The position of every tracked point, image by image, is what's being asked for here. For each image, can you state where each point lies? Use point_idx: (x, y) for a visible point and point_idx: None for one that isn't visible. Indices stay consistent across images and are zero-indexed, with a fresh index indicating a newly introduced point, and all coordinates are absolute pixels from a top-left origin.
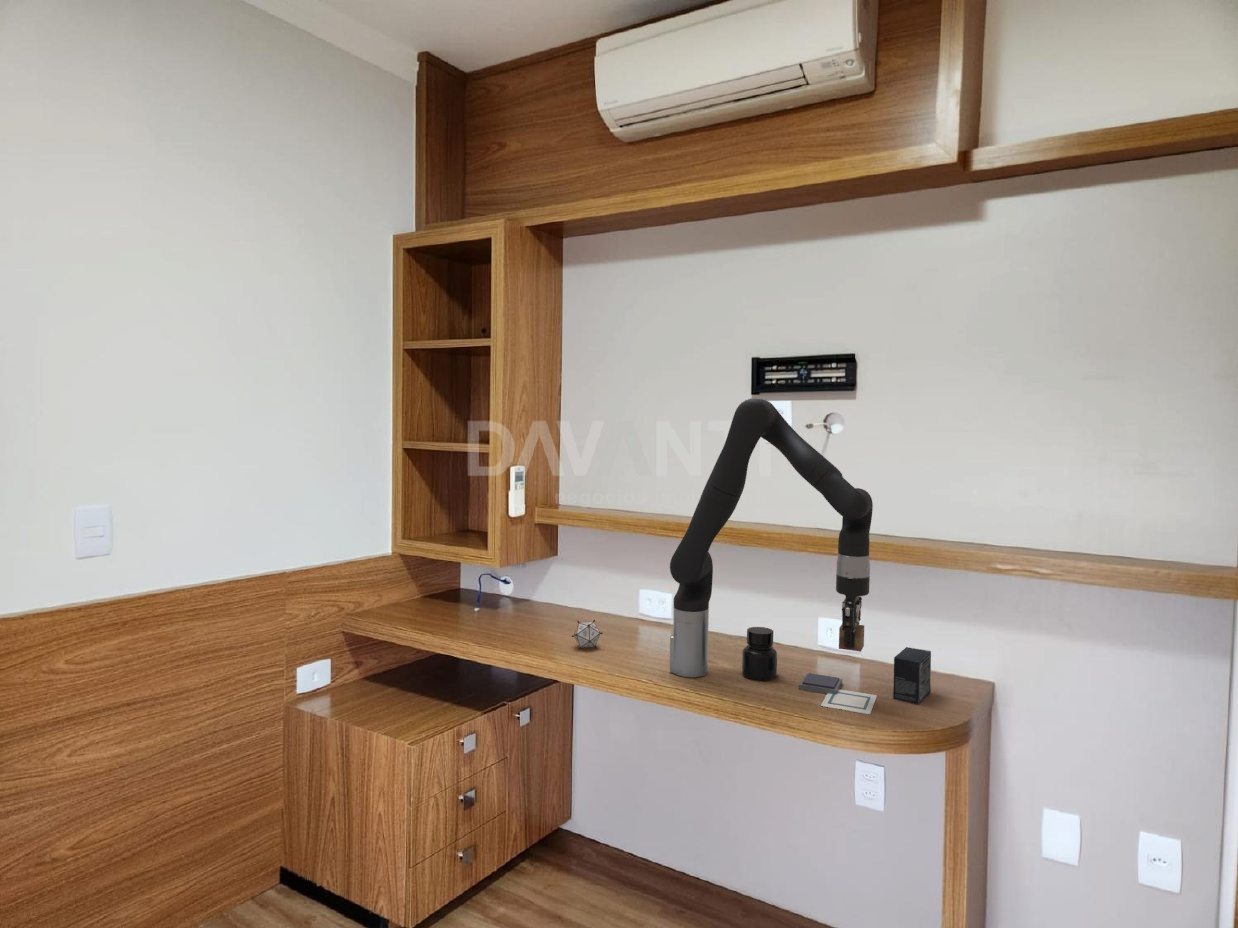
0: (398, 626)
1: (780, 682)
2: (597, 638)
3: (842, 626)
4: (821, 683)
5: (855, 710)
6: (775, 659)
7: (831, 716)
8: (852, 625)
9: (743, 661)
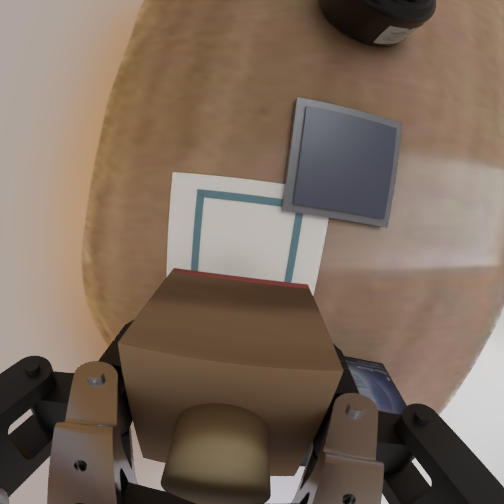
0: None
1: (333, 54)
2: None
3: (4, 371)
4: (315, 164)
5: (173, 263)
6: (376, 18)
7: (118, 206)
8: (20, 433)
9: None
